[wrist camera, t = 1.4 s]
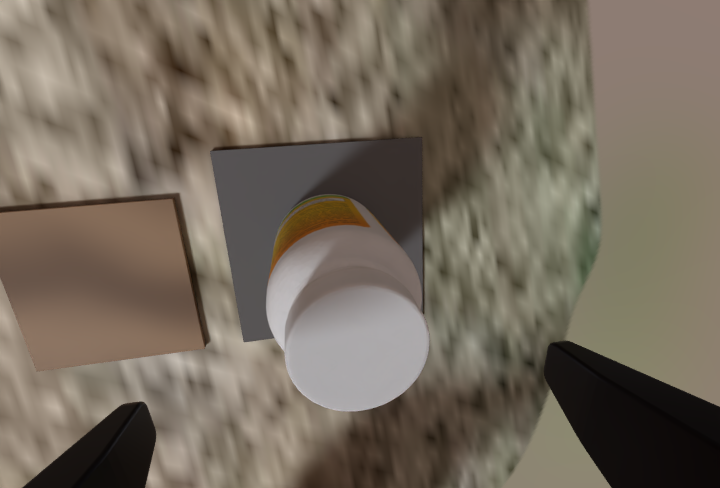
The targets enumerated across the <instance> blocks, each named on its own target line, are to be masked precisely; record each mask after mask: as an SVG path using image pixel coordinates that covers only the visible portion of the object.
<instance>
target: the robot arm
mask: <svg viewBox="0 0 720 488" xmlns="http://www.w3.org/2000/svg"><path fill="white" fill-rule="evenodd" d="M544 376H545V379H546V381H547V383H548V385H549V387H550V389H551V390H552V392H553V394H554V396H555V397H556V399H557V401H558V403H559V405H560V406H561V408H562V410H563V412H564V414H565V415H566V417H567V419H568V421H569V423H570V424H571V426H572V428H573V430H574V432H575V433H576V435H577V437H578V438H579V440H580V442H581V443H582V445H583V446H584V448H585V449H586V451H587V452H588V454H589V455H590V457H591V458H592V460H593V461H594V463H595V464H596V466H597V467H598V469H599V470H600V471H601V473H602V474H603V476H604V477H605V479H606V480H607V482H608V483H609V485H610V486H611V487H612V488H720V407H719V406H716V405H714V404H712V403H710V402H707V401H705V400H703V399H701V398H698V397H696V396H694V395H691V394H689V393H687V392H685V391H682V390H680V389H677V388H675V387H673V386H670V385H669V384H666V383H664V382H662V381H659V380H657V379H655V378H652V377H650V376H648V375H646V374H643V373H641V372H639V371H636V370H634V369H632V368H630V367H627V366H625V365H623V364H620V363H618V362H616V361H613V360H611V359H609V358H607V357H604V356H602V355H600V354H598V353H595V352H593V351H591V350H589V349H586V348H584V347H582V346H579V345H577V344H575V343H573V342H570V341H559V342H553V343H550V345H549V346H548V349H547V355H546V360H545V366H544ZM155 442H156V430H155V427H154V424H153V421H152V418H151V415H150V413H149V410H148V407H147V405H146V404H145V403H144V402H133V403H126V404H123V405H121V406H119V407H118V408H117V409H115V410H114V411H113V412H112V413H111V414H110V415H108V416H107V417H106V418H105V419H104V420H102V421H101V422H100V423H99V424H98V425H96V426H95V427H94V428H93V429H92V430H90V431H89V432H88V433H87V434H86V435H84V436H83V437H82V438H81V439H80V440H78V441H77V442H76V443H75V444H74V445H73V446H71V447H70V448H69V449H68V450H67V451H65V452H64V453H63V454H62V455H61V456H59V457H58V458H57V459H56V460H55V461H53V462H52V463H51V464H50V465H49V466H47V467H46V468H45V469H44V470H43V471H41V472H40V473H39V474H38V475H37V476H36V477H34V478H33V479H32V480H31V481H30V482H28V483H27V484H26V485H25V486H24V487H22V488H145V485H146V481H147V477H148V472H149V468H150V464H151V459H152V455H153V451H154V447H155Z"/></svg>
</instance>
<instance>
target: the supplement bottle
mask: <svg viewBox="0 0 720 488" xmlns="http://www.w3.org/2000/svg"><path fill="white" fill-rule="evenodd" d="M421 304H422V291H421V284H420V280H419V276H418V273H417V271H416V269H415V267H414V265H413V263H412V261H411V260H410V258H409V257H408V255H407V254H406V252H405V251H404V250H403V249H402V247H401V246H400V245H399V244H398V243H397V242H396V241H395V240H394V238H393V237H392V236H391V235H390V234H389V233H388V232H387V230H386V229H385V228H384V227H383V226H382V225H381V223H380V222H379V221H378V220H377V219H376V218H375V216H374V215H373V214H372V213H371V212H370V211H369V210H368V209H367V208H365V207H364V206H363V205H362V204H360V203H359V202H357V201H355V200H354V199H351V198H349V197H346V196H342V195H336V194H324V195H318V196H314V197H311V198H308V199H306V200H304V201H302V202H300V203H299V204H297V205H296V206H295V207H294V208H293V209H291V210H290V211H289V213H288V214H287V215H286V216H285V218H284V219H283V221H282V222H281V224H280V226H279V229H278V232H277V234H276V238H275V243H274V250H273V257H272V263H271V269H270V274H269V280H268V286H267V295H266V313H267V319H268V323H269V326H270V329H271V331H272V334H273V336H274V338H275V339H276V341H277V342H278V344H279V345H280V347H281V348H282V349H283V350H284V352H285V362H286V367H287V371H288V373H289V375H290V378H291V379H292V381H293V383H294V384H295V386H296V387H297V388H298V390H299V391H300V392H301V393H302V394H303V395H305V396H306V397H307V398H308V399H310V400H311V401H312V402H314V403H316V404H318V405H321V406H323V407H325V408H329V409H333V410H338V411H362V410H368V409H372V408H376V407H378V406H381V405H384V404H386V403H388V402H390V401H391V400H393V399H395V398H396V397H398V396H399V395H401V394H402V393H403V392H405V391H406V390H407V389H408V388H409V387H410V386H411V385H412V384H413V382H414V381H415V380H416V379H417V377H418V376H419V375H420V373H421V371H422V369H423V367H424V365H425V363H426V359H427V356H428V352H429V343H430V336H429V329H428V325H427V322H426V319H425V317H424V315H423V313H422V311H421Z"/></svg>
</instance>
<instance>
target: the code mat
mask: <svg viewBox="0 0 720 488" xmlns="http://www.w3.org/2000/svg"><path fill="white" fill-rule="evenodd" d="M210 154H211V159H212V165H213V171H214V176H215V182H216V187H217V193H218V199H219V204H220V210H221V216H222V221H223V227H224V233H225V238H226V244H227V250H228V255H229V261H230V267H231V272H232V278H233V284H234V289H235V295H236V301H237V306H238V312H239V318H240V323H241V329H242V335H243V340H244V342H250V341H257V340H264V339H272V338H274V336H273V334H272V331H271V329H270V326H269V323H268V319H267V313H266V295H267V286H268V280H269V274H270V269H271V263H272V257H273V250H274V243H275V238H276V234H277V232H278V229H279V226H280V224H281V222H282V221H283V219H284V218H285V216H286V215H287V214H288V213H289V211H290V210H291V209H293V208H294V207H295V206H296V205H297V204H299V203H300V202H302V201H304V200H306V199H308V198H311V197H314V196H318V195H324V194H336V195H342V196H346V197H349V198H351V199H354V200H355V201H357V202H359V203H360V204H362V205H363V206H364V207H365V208H367V209H368V210H369V211H370V212H371V213H372V214H373V215H374V216H375V218H376V219H377V220H378V221H379V222H380V223H381V225H382V226H383V227H384V228H385V229H386V230H387V232H388V233H389V234H390V235H391V236H392V237H393V238H394V240H395V241H396V242H397V243H398V244H399V245H400V246H401V247H402V249H403V250H404V251H405V252H406V254H407V255H408V257H409V258H410V260H411V261H412V263H413V265H414V267H415V269H416V271H417V273H418V276H419V280H420V284H421V291H422V304H421V311H422V313H423V260H422V137H416V138H401V139H386V140H371V141H355V142H340V143H325V144H310V145H294V146H279V147H264V148H249V149H233V150H218V151H210Z"/></svg>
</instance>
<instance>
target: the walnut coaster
mask: <svg viewBox="0 0 720 488" xmlns="http://www.w3.org/2000/svg"><path fill="white" fill-rule="evenodd" d="M0 278H1V280H2V283H3V285H4V288H5V290H6V293H7V296H8V298H9V301H10V303H11V306H12V309H13V311H14V314H15V316H16V319H17V321H18V324H19V327H20V329H21V332H22V334H23V337H24V340H25V342H26V345H27V347H28V350H29V352H30V355H31V358H32V360H33V363H34V365H35V368H36V371H44V370H51V369H59V368H66V367H73V366H81V365H88V364H95V363H103V362H110V361H117V360H125V359H132V358H139V357H147V356H154V355H161V354H169V353H176V352H183V351H191V350H198V349H205V346H206V344H205V339H204V334H203V330H202V325H201V320H200V316H199V311H198V306H197V302H196V297H195V292H194V288H193V283H192V278H191V274H190V269H189V264H188V259H187V255H186V250H185V245H184V241H183V236H182V231H181V227H180V222H179V217H178V213H177V208H176V203H175V199H174V198H165V199H153V200H141V201H128V202H116V203H104V204H92V205H79V206H67V207H55V208H42V209H30V210H18V211H6V212H0Z"/></svg>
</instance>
